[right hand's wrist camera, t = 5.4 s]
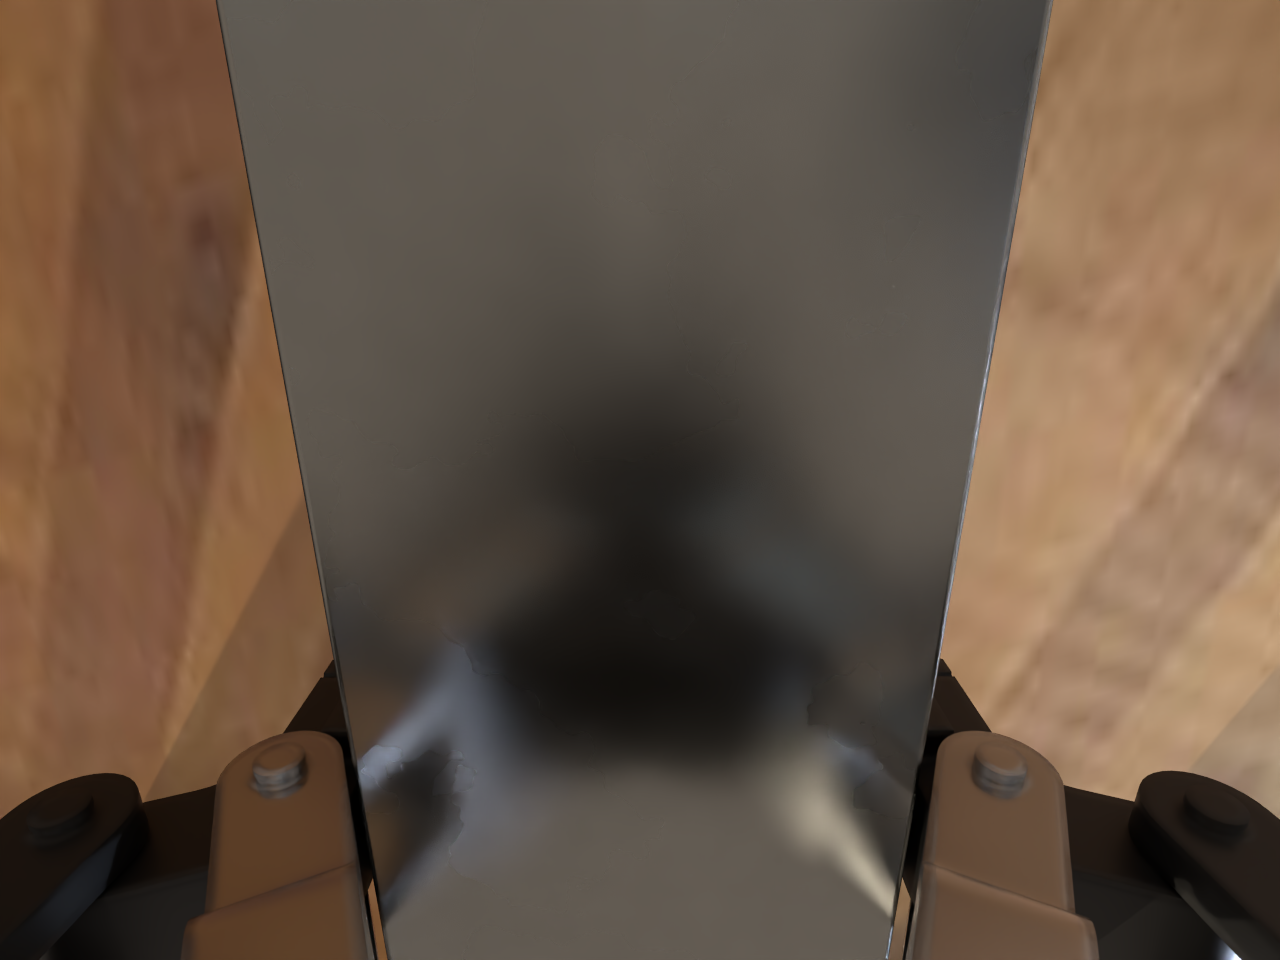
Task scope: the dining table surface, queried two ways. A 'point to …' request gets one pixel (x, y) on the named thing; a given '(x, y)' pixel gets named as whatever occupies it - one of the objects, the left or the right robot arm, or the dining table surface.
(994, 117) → the box
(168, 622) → the dining table surface
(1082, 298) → the dining table surface
